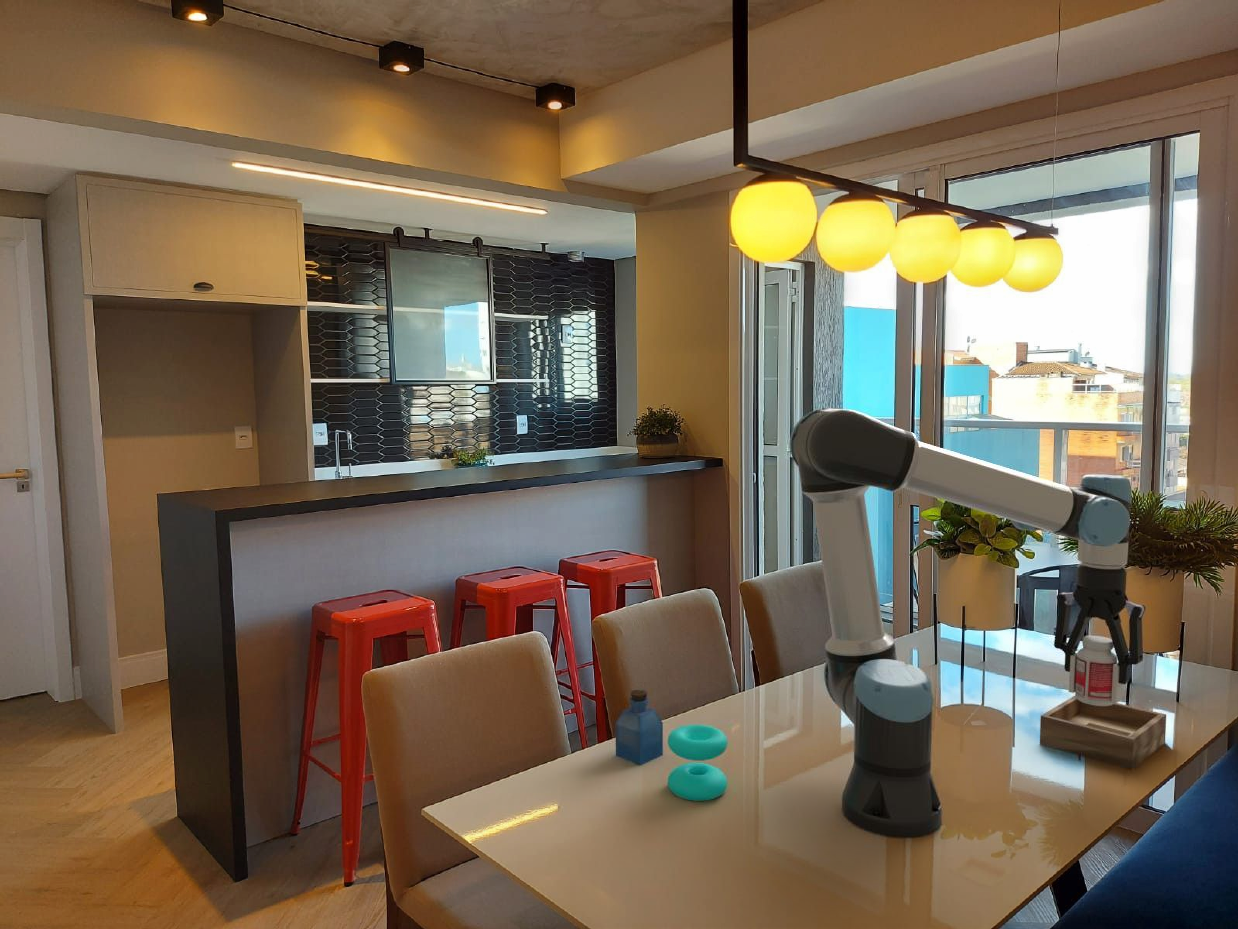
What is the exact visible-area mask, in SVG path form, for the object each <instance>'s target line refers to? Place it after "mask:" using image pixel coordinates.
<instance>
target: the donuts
mask: <svg viewBox="0 0 1238 929" xmlns="http://www.w3.org/2000/svg"><path fill="white" fill-rule="evenodd" d="M667 744H668V748H669V749H670V751H671V752H672V753H673V754H674V755H676V756H678V757H680V758H681V759H682V758H683V759H685V760H689V761H697V762H688V763H683V764H681V765H678V766H677V767H675V768H673V769H672V770H671V771H670V772H669V776H668V778H667V785H668V788H669V789H670V791H671V792H672V793H673V794H674V795H676V796H678V797H679V798H681V799H685V800H688V801H697V802H700V801H702V802H703V801H704V802H705V801H710V800H714V799H717V798H719V797H720V796H721V795H723V794H724V793H725V791H726V790H727V787H728V780H727V776H726V775H725V773H724V772H723V771H722V770H720V769H719V768H718V767H716V766H714V765H712V764H708V763H703V761H709V760H713V759H716V758H718V757H720V756H721V755H722V754H724V752H725V751H726V750H727V747H728V739H727V736H726V734H725V733H724V732H723V731H722V730H720V729H719V728H716V727H714V726H712V725H711V726H710V725H707V724H687V725H683V726H679V727H677V728H675V729H673V730H672V731H671V732H670V733H669V734H668V737H667ZM698 761H702V762H698Z"/></svg>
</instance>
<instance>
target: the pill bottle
mask: <svg viewBox="0 0 1238 929" xmlns="http://www.w3.org/2000/svg"><path fill="white" fill-rule="evenodd" d="M1081 641H1082V643H1081V644H1082V646H1083V648H1080V649H1078V651H1077V652H1076V653H1077V667H1076V687H1075V692H1074V696H1075V697H1076V699H1078V700H1079V701H1081V702H1083V703H1087V704H1090V705H1095V706H1110V705H1113V704H1114V703H1113V702H1111V697H1112V679H1113V665H1114V664H1116V663H1118V659H1117V656H1116V653H1115V652H1113V651H1112V650H1113V649H1114V645H1113V642H1112V638H1109V637H1106V636H1105V637H1104V636H1101V635H1085V636H1084V635H1083V637H1082V640H1081Z"/></svg>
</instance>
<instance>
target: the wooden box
mask: <svg viewBox="0 0 1238 929" xmlns="http://www.w3.org/2000/svg"><path fill="white" fill-rule="evenodd" d="M1039 721H1040V723H1039V724H1040V725H1039V726H1040V727H1039V744H1040V745H1042V746H1046V747H1049V748H1053V749H1057V750H1060V751H1064V752H1068V753H1072V754H1074V755H1078V756H1081V757H1082V756H1083V757H1084V758H1085V757H1086V758H1089V759H1093V760H1097V761H1099V762H1103V763H1107V764H1110V765H1113V766H1118V767H1121V768H1124V769H1129V770H1134V769H1136V767H1138V766H1139V765H1140V764H1141V763H1143V761H1145V760H1146V759H1148V757H1149V756H1151V755H1152V754H1153V753H1154V752H1156V751H1157V750H1158V749H1159V748H1160V747H1162V746H1163V745H1164V744H1165V743H1166V735H1167V733H1166V731H1167V714H1166V713H1162V712H1158V711H1153V710H1149V709H1144V708H1140V707H1136V706H1131V705H1127V704H1122V703H1119V702H1117V703H1114V704H1113V705H1110V706H1095V705H1090V704H1087V703H1083V702H1081V701H1079V700H1078V699H1076V697H1075V695H1073V696H1071V697H1070V698H1068V699H1067V700H1065V701H1063V702H1062V703H1059V704H1058V705H1057V706H1054V707H1053V708H1051V709H1049V710H1048V711H1046V712H1045V713H1042V714H1041V715H1040V719H1039Z"/></svg>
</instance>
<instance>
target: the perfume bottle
mask: <svg viewBox="0 0 1238 929" xmlns="http://www.w3.org/2000/svg"><path fill="white" fill-rule="evenodd" d="M647 696H648V691H646V690H644V689H635V690H634V689H633V690H631V691H630V698H629V705H630V707H628V708H626V709H624V710H623V711H622V713H621V714H620V716H619V717H618V719H617V720H616V722H615V757H618V758H619V759H623V760H626V761H628V762H631V763H634V764H636V765H639V766H643V765H645V764H646V763H649V762H651V761H653V760H655V759H657V758H659V757H662V756H663V754H664V753H663V752H664V743H663V742H664V741H663V740H664V737H663V736H664V735H663V734H664V731H663V730H664V729H663V728H664V725H663V724H664V723H663V721H662V719H661V718H660V716H659V715H658V713H657V712H656V710H655V709H654V708H653V709H652V708H650V707H648V705H649V698H648V697H647Z"/></svg>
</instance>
